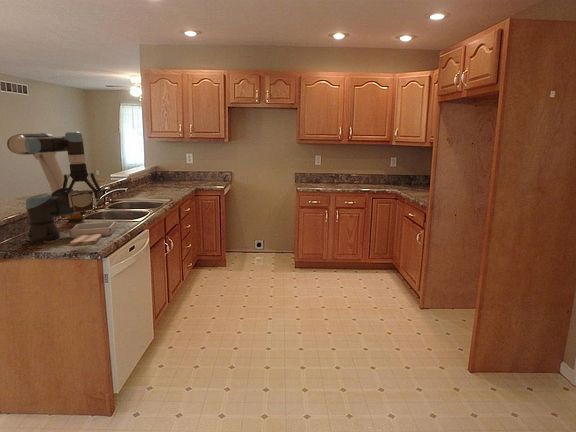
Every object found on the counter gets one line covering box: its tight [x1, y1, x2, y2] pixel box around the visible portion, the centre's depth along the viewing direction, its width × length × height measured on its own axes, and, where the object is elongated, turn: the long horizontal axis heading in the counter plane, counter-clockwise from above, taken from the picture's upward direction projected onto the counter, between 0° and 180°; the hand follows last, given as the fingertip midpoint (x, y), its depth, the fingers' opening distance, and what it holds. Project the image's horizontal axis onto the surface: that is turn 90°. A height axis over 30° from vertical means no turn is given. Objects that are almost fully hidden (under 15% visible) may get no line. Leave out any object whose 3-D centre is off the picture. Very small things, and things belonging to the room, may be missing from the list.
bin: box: [68, 221, 117, 239], centre depth 226 cm, size 21×17×4 cm
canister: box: [66, 189, 86, 223], centre depth 256 cm, size 9×11×20 cm
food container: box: [69, 189, 94, 213], centre depth 207 cm, size 12×6×10 cm, turn 145°
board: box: [69, 233, 103, 247], centre depth 210 cm, size 12×15×2 cm
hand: (83, 206), depth 208 cm, fingers closed on food container, 11 cm apart
